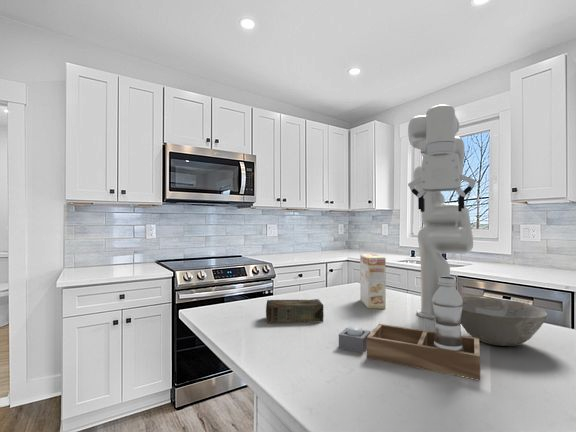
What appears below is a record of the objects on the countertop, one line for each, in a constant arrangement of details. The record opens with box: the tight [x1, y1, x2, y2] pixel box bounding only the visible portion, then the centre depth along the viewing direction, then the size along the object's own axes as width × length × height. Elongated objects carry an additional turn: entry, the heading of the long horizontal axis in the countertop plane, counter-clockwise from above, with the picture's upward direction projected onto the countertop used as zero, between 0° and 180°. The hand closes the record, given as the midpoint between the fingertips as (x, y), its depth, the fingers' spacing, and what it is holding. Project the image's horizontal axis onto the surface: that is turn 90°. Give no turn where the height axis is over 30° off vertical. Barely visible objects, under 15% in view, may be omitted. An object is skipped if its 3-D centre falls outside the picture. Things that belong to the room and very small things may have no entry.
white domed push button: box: [346, 325, 363, 337], centre depth 90 cm, size 4×4×2 cm
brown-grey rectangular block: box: [265, 298, 325, 324], centre depth 114 cm, size 8×19×7 cm, turn 96°
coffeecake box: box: [359, 253, 387, 310], centre depth 136 cm, size 15×7×20 cm, turn 179°
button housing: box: [338, 327, 371, 353], centre depth 90 cm, size 7×7×4 cm
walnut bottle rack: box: [366, 323, 481, 381], centre depth 82 cm, size 12×24×5 cm, turn 61°
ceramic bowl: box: [460, 296, 548, 347], centre depth 93 cm, size 22×23×10 cm
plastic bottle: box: [432, 276, 464, 352], centre depth 79 cm, size 6×7×20 cm
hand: (440, 211), depth 95 cm, fingers open, 9 cm apart
